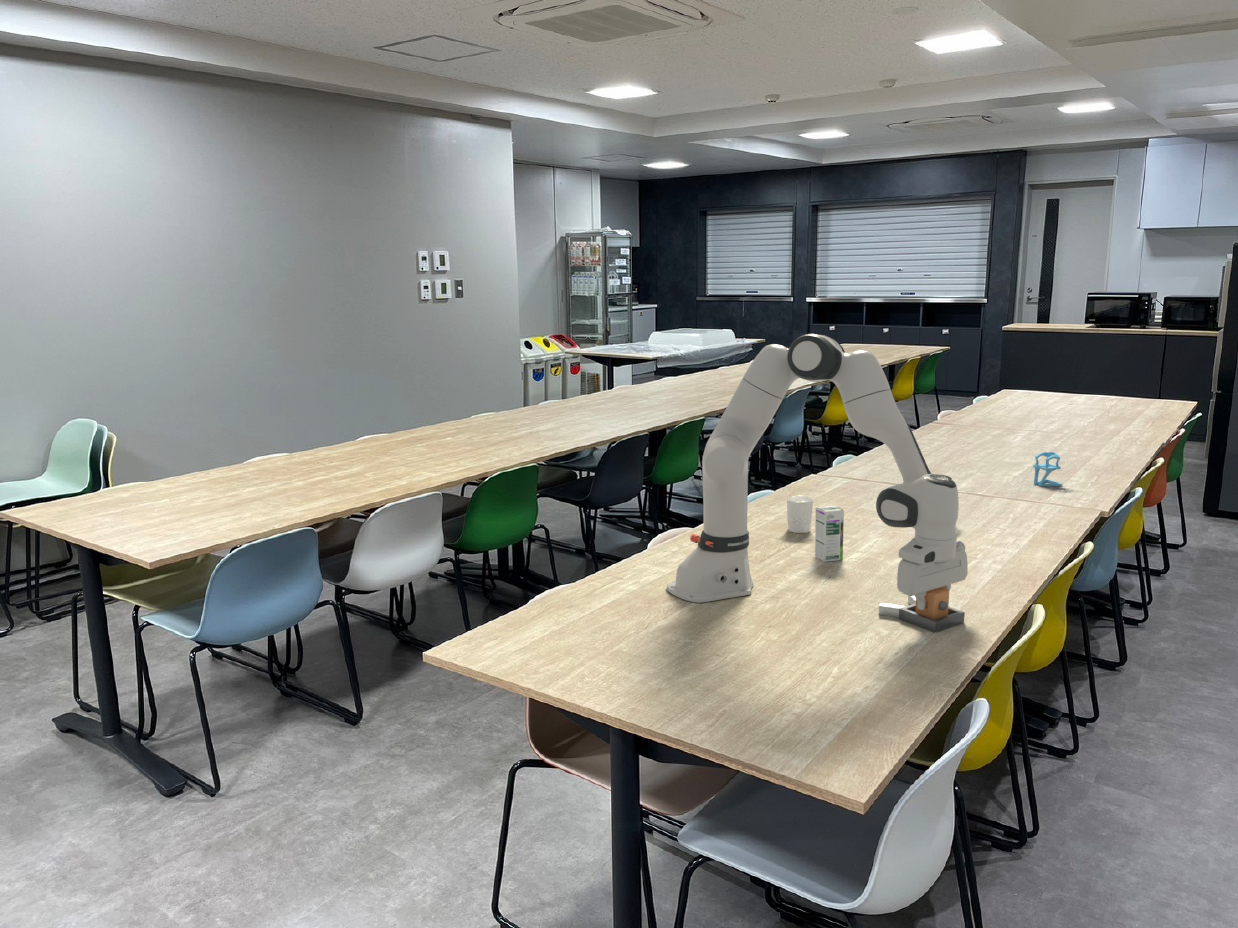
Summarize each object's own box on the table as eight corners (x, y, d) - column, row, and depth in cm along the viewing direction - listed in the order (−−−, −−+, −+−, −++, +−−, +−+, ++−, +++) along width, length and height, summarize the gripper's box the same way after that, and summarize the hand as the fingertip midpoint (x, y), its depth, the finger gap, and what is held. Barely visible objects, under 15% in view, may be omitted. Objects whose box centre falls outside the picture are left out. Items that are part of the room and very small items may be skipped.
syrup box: (824, 562, 247) (825, 511, 244) (814, 556, 253) (815, 506, 250) (843, 560, 249) (844, 509, 246) (832, 554, 254) (834, 504, 251)
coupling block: (936, 621, 201) (937, 595, 200) (912, 612, 206) (913, 587, 205) (950, 616, 203) (952, 591, 202) (926, 607, 209) (928, 583, 208)
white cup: (808, 526, 282) (809, 495, 280) (815, 533, 274) (815, 501, 272) (783, 527, 282) (784, 496, 280) (789, 534, 274) (789, 502, 272)
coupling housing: (929, 634, 197) (930, 623, 197) (874, 613, 210) (875, 602, 210) (968, 620, 205) (969, 610, 204) (913, 601, 217) (913, 591, 217)
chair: (1028, 483, 332) (1030, 451, 329) (1046, 481, 334) (1049, 449, 332) (1043, 488, 325) (1046, 455, 322) (1062, 486, 327) (1065, 453, 325)
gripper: (953, 536, 210) (949, 592, 213) (893, 551, 199) (890, 610, 202) (976, 542, 204) (972, 600, 207) (916, 559, 194) (913, 619, 197)
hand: (931, 605), depth 204 cm, fingers closed on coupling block, 5 cm apart
